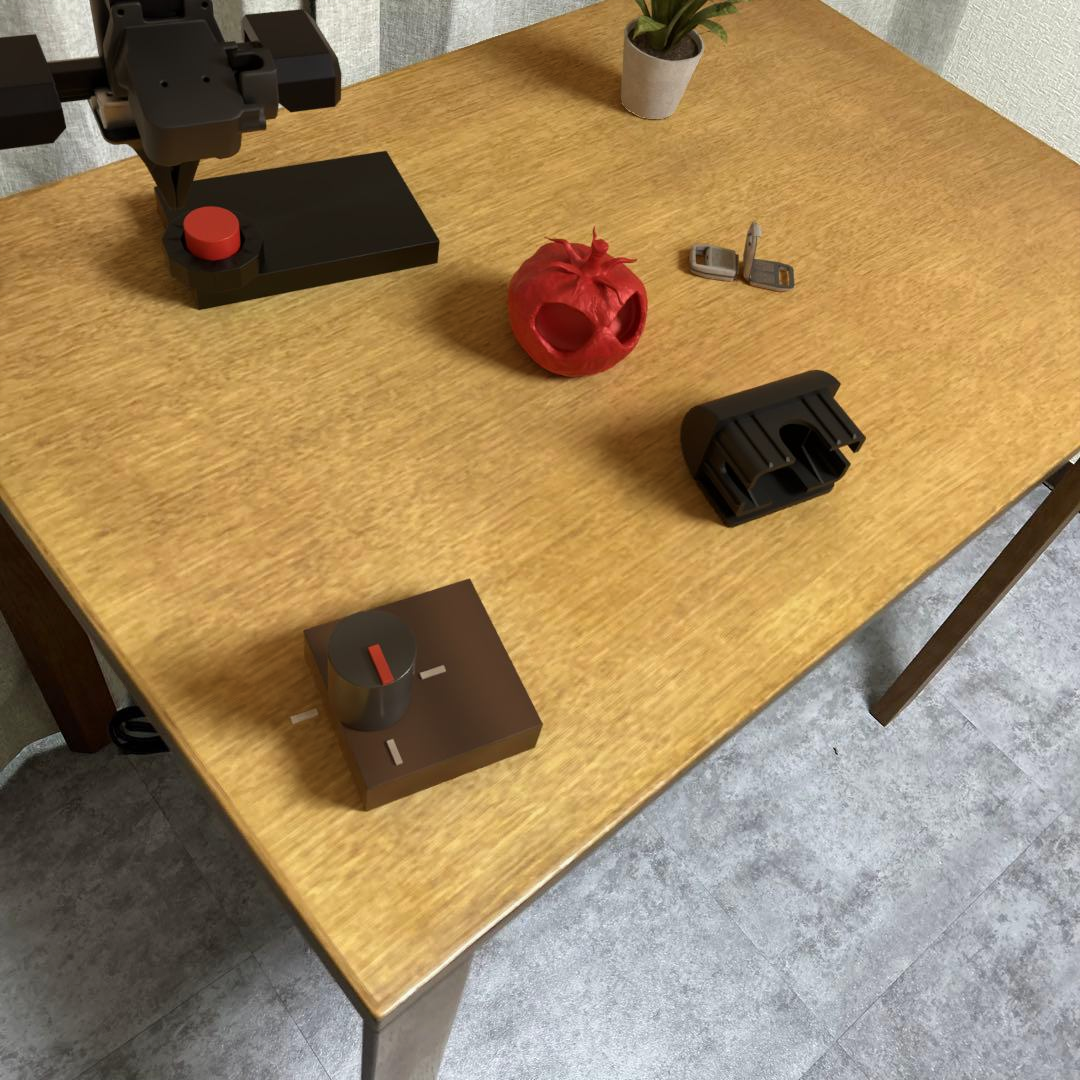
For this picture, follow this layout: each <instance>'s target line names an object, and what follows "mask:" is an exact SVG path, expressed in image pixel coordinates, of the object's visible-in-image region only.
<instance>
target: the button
mask: <svg viewBox="0 0 1080 1080" xmlns="http://www.w3.org/2000/svg"><path fill="white" fill-rule="evenodd" d="M184 232H185V239H186V246H187V249H188V250H189V252H190V253H191V254H192V255H194V256H195V257H197V258H201V259H207V260H213V261H214V260H220V259H225V258H230V257H232V256H233V255H235V254H236V253H237V252H238V250H239V248H240V244H241V242H240V231H239V222H238V219H237V218H236V216H235V215H234V214H233V213H231V212H230V211H228V210H226V209H223V208H220V207H202V208H198V209H195V210H193V211H192V212H190V213H189V214H188V215H187V216H186V218H185V220H184Z"/></svg>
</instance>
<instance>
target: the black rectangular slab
mask: <svg viewBox="0 0 1080 1080" xmlns="http://www.w3.org/2000/svg"><path fill="white" fill-rule="evenodd" d="M153 191H154V198H155V204H156V210H157V213H158V215H159V218H160V220H161V223H162V225H163V227H164V230H165V231H164V233H163V236H162V238H161V244H162V251H163V257H164V261H165V264H166V266H167V269H168V271H169V273H170V276H171V277H172V278H174V279H176V280H177V281H179V282H180V283H181V284H183V285H185V286H186V287H188V288H189V290H190V292H191V295H192V298H193V300H194V302H195V304H196V307H197V310H199V311H203V310H208V309H213V308H217V307H223V306H227V305H233V304H238V303H243V302H248V301H252V300H253V301H254V300H259V299H264V298H267V297H274V296H279V295H282V294H283V295H284V294H289V293H294V292H299V291H303V290H309V289H314V288H318V287H319V288H320V287H324V286H330V285H334V284H339V283H345V282H349V281H355V280H360V279H364V278H369V277H375V276H380V275H385V274H390V273H395V272H400V271H405V270H406V271H407V270H410V269H415V268H419V267H420V268H421V267H427V266H432V265H436V264H438V263H439V254H440V244H441V243H440V242H441V241H440V238H439V237H438V235H437V234H436V232H435V230H434V228H433V227H432V225H431V224H430V222H429V220H428V218H427V216H426V215H425V213H424V211H423V210H422V208H421V206H420V205H419V203H418V201H417V200H416V198H415V196H414V195H413V193H412V191H411V189H410V188H409V186H408V184H407V183H406V181H405V180H404V178H403V176H402V174H401V172H400V171H399V169H398V168H397V166H396V164H395V163H394V160H393V159H392V158H391V155H390V154H389V153H388V151H387V150H381V151H375V152H368V153H361V154H356V155H349V156H343V157H336V158H330V159H323V160H316V161H310V162H305V163H299V164H292V165H284V166H278V167H272V168H265V169H259V170H253V171H247V172H241V173H233V174H226V175H220V176H214V177H206V178H199V179H194V180H193V182H192V185H191V188H190V191H189V194H188V197H187V200H186V203H185V206H184V208H181V209H175V210H170V209H169V207H168V205H167V203H166V202H165V200H164V198H163V196H162V194H161V192H160V191H159V189H158V187H157V185H155V186H154V187H153ZM202 207H220V208H223V209H226V210H228V211H230V212H231V213H233V214H234V215H235V216H236V218H237V219H238V222H239V231H240V242H241V244H240V248H239V250H238V252H237V253H236V254H235V255H233V256H232V257H230V258H225V259H220V260H214V261H213V260H207V259H201V258H197V257H195V256H194V255H192V254H191V253H190V252H189V250H188V249H187V246H186V239H185V232H184V220H185V218H186V216H187V215H188V214H189V213H190V212H192V211H193V210H195V209H198V208H202Z"/></svg>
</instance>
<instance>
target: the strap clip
mask: <svg viewBox="0 0 1080 1080" xmlns="http://www.w3.org/2000/svg"><path fill="white" fill-rule="evenodd" d="M745 237H746V238H745V243H744V249H743V255H742V267H743V269H742V270H743V279H744V280H745V281H746V282H749V285H750V286H753V287H756V288H762V289H766V290H770V291H774V292H790V291H792V290H794V289H795V286H796V285H795V272H794V271H795V270H794V267H793V266H792V265H789V264H786V263H784V262H780V261H773V260H768V259H760V258H755V257H756V251H757V247H758V238H760V239H762V237H763V236H762V226H761V225H760V224H757V221H752V222H751V223H750V225H749V228H748V229H747V232H746V236H745ZM696 255H698V256H701V257H704V264H699V263H697V262H696V261H697V260H696V258H697V257H696ZM688 261H689V263H688V265H689V270H690V272H691V273H693V274H694V275H696V276H699V277H701V278H704V279H709V280H710V279H712V280H717V281H726V282H732V281H734V279H735V280H737V278H738V275H739V273H740V254H739V253H738V254H737V253H736V250H734V249H730V248H725V247H721V246H717V245H713V244H708V243H706V244H705V243H703V244H702V243H699V244H693V245H692V246H691V248H690V251H689V260H688ZM780 271H785V272H787V274H788V284H781V283H780V282H781V281H780Z"/></svg>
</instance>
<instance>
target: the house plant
mask: <svg viewBox="0 0 1080 1080" xmlns="http://www.w3.org/2000/svg"><path fill="white" fill-rule="evenodd" d="M634 1H635V2H636V4H637V5H638V6H639V8H640V10H641V12H642V14H640V15H638V17H636V18H633V19H631V20H630V21H629V22H628V23H627V24H626V26H625V27H624V30H623V34H624V35H623V50H622V69H621V70H622V71H621V87H620V88H621V89H620V93H621V94H620V101H621V100H622V102H621V104H622V103H623V104H624V106H625V107H626V108H627V109H628V110H630V111H631V112H634V113H635V114H637V115H639V116H641V117H645V118H653V119H658V118H659V119H660V118H665V117H668V116H670V115H672V114H673V113H674V114H675V113H676V110H677V108H678V106H679V104H680V102H681V100H682V98H683V95H684V94H685V91H686V89H687V87H688V85H689V83H690V81H691V78H692V76H693V75H694V72H695V71H696V69H697V66H698V64H699V62H700V60H701V58H702V55H703V54H704V51H705V42H704V40H703V38H702V36H701V35H702V34H704V33H712V34H714V35H716V36H717V37H718V38H719V39H721V40H722V41H723V43H724V44H725V46H726V48H728V34H727V32H726V29H725V28H724V27H723V26H722V25H721V24H720V23H719V22H716V21H714V20H711V18H716V17H720V16H727V15H732V14H740V15H742V14H743V13H742V12H741V11H740V9H738V8H737V7H736V6H735V4H736V5H737V6H739V5H738V4H739V3H745V2H746V3H750V2H751V3H752V2H755V0H724V1H722V2H715V1H714V0H650V5H651V6H650V9H651V12H650V11H649V8H648V5H647V2H646V0H634ZM708 1H709V2H711V3H713V4H711V5H708V6H706V7H703V6H705V4H707V2H708ZM702 7H703V8H702ZM701 8H702V9H701ZM700 9H701V10H700ZM699 25H701V26H703V27H705V28H707V29H708V30H706V31H705V32H700V33H698V31H697V30H695V29H696V28H697V27H698V26H699ZM624 106H623V107H624ZM674 114H673V115H674ZM673 115H672V116H673Z"/></svg>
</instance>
